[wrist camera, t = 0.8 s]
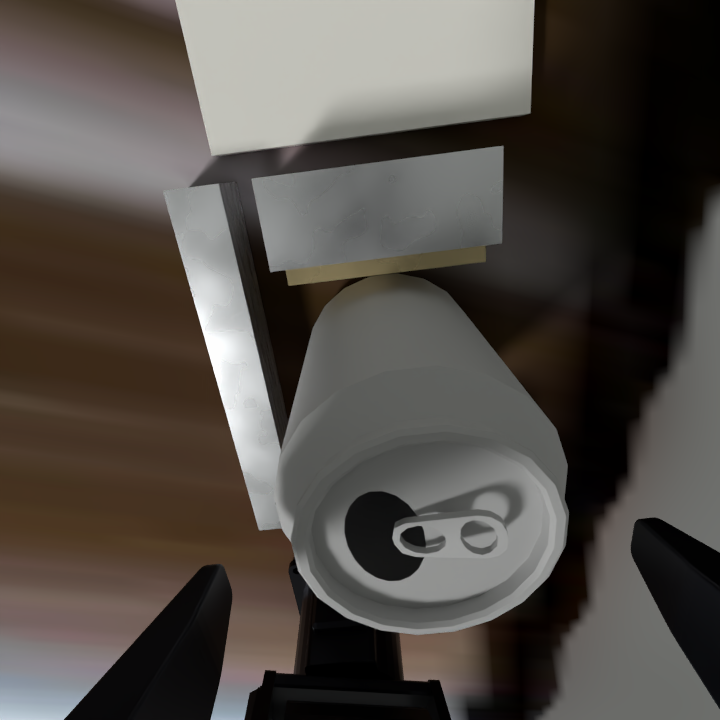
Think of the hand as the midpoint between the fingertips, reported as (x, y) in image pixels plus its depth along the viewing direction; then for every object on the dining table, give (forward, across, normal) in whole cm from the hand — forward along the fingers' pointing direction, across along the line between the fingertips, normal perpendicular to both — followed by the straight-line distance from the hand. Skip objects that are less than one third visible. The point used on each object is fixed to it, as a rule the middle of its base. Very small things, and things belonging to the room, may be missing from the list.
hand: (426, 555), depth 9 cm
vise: (+12, +2, 0) cm, 12 cm away
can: (+12, 0, 0) cm, 12 cm away
